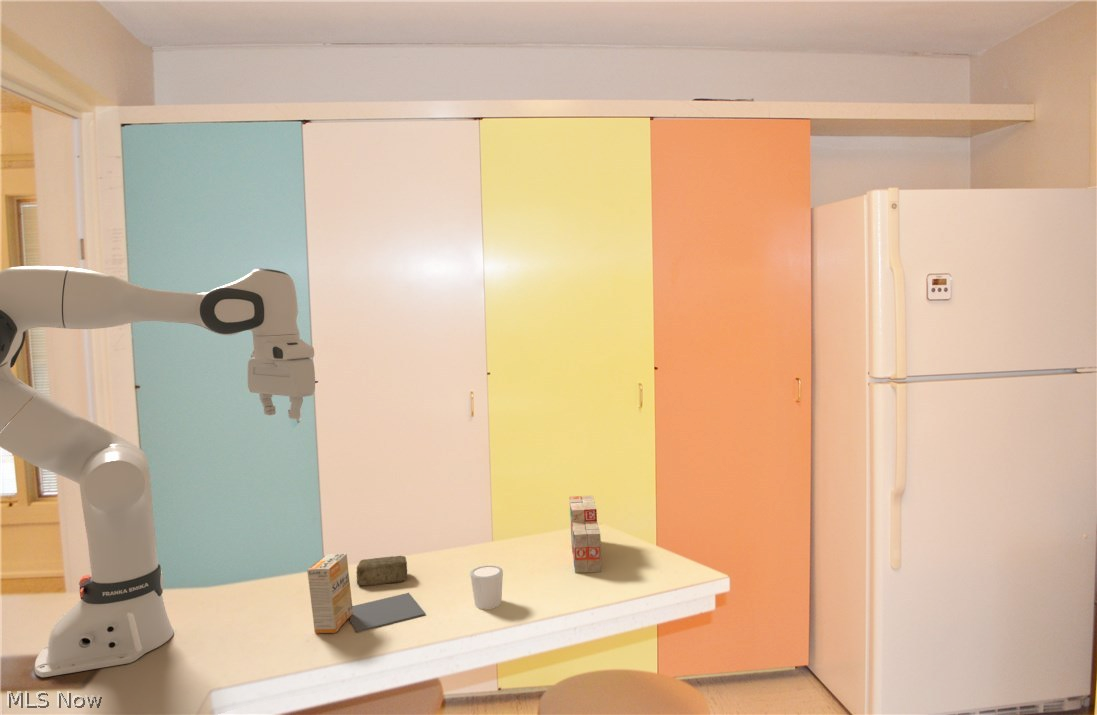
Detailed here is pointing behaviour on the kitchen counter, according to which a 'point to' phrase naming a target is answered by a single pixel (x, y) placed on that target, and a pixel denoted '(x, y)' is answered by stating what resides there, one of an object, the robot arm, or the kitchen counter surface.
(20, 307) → the robot arm
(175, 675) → the kitchen counter surface
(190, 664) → the kitchen counter surface
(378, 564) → the stone block
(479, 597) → the white cup
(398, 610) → the mat
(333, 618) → the supplement box
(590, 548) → the stack of blocks
